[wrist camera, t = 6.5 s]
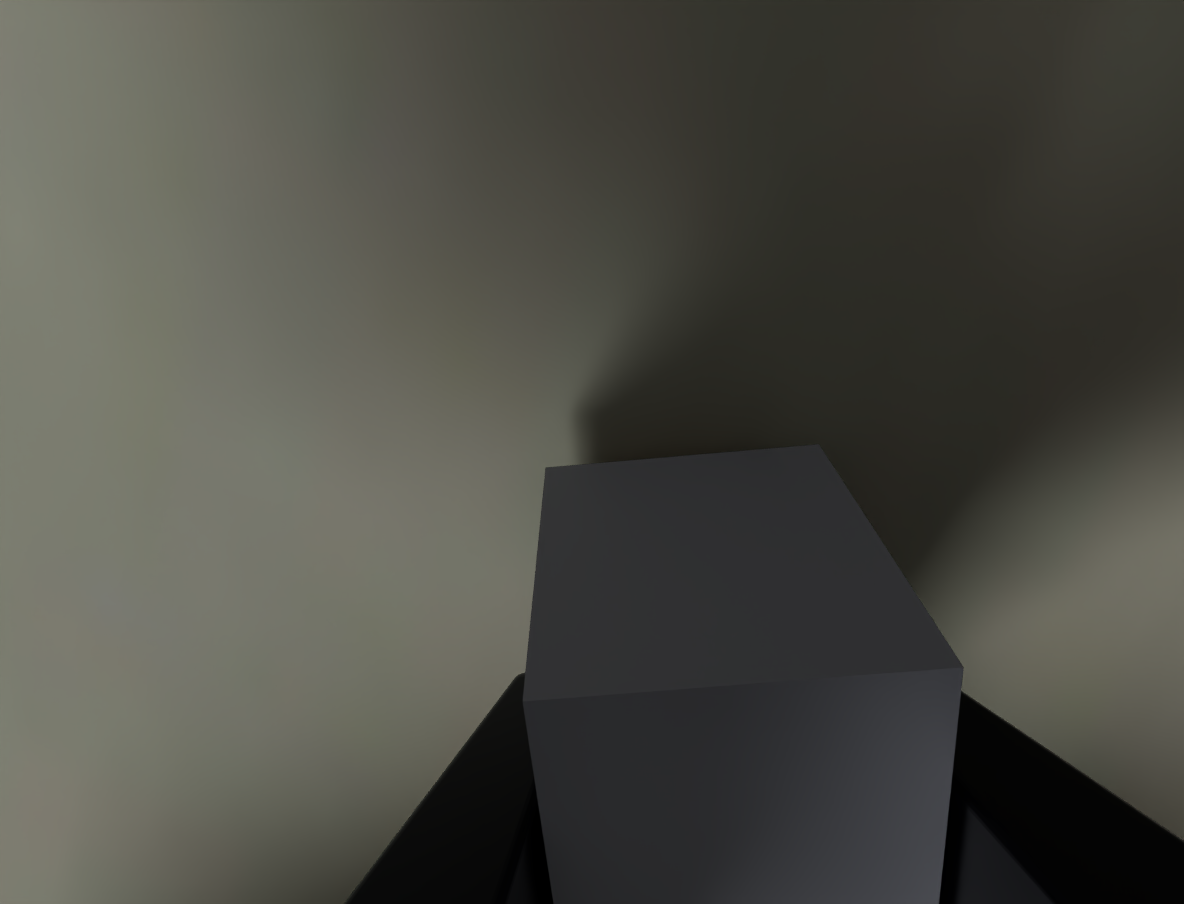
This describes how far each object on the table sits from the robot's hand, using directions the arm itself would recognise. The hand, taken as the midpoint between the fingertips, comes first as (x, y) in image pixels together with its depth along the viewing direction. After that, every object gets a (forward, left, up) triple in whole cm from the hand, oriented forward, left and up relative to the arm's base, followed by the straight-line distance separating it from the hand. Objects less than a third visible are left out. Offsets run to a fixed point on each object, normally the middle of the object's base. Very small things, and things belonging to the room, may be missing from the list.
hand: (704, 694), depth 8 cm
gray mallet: (0, +6, -1) cm, 6 cm away
